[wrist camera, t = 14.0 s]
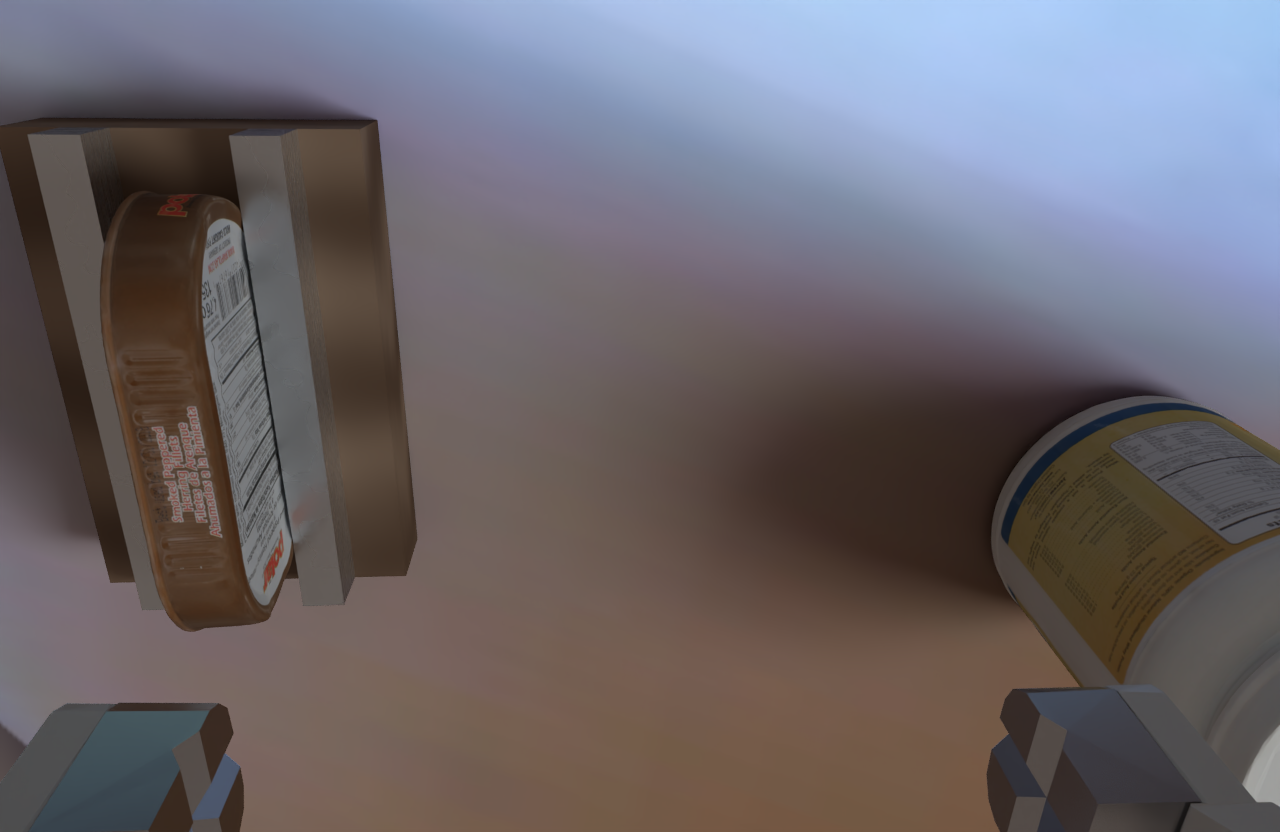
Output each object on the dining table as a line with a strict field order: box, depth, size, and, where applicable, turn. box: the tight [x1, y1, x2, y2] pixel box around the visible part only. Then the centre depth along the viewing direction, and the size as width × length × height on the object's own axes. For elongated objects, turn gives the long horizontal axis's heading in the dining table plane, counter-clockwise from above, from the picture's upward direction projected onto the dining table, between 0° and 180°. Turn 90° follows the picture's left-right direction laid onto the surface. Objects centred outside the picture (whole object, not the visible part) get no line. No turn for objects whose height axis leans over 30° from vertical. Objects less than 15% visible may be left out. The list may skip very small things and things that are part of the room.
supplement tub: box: [991, 396, 1280, 807], centre depth 35 cm, size 12×12×17 cm
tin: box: [100, 191, 294, 632], centre depth 31 cm, size 15×3×8 cm, turn 179°
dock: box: [0, 118, 417, 610], centre depth 35 cm, size 18×12×5 cm, turn 179°
